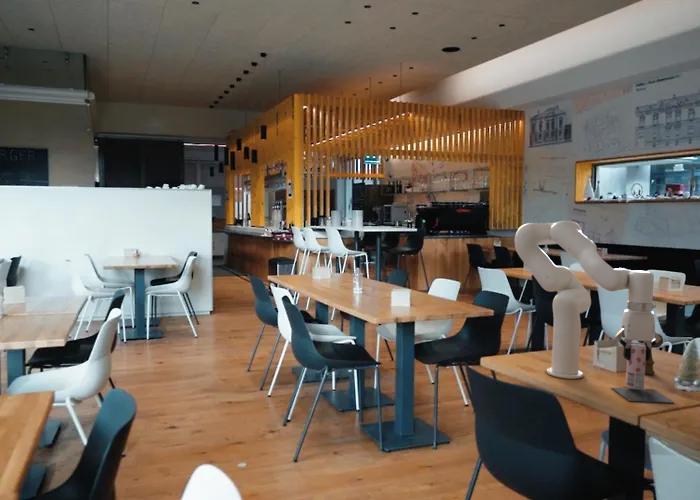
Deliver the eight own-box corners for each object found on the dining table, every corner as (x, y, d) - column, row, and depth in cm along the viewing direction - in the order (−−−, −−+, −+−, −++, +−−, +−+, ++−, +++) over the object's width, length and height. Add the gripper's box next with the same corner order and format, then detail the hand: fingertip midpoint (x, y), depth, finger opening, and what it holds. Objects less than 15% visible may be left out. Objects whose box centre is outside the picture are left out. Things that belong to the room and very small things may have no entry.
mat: (611, 388, 204) (611, 387, 204) (653, 390, 204) (653, 389, 203) (629, 401, 190) (629, 400, 190) (673, 403, 190) (673, 402, 190)
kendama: (648, 370, 230) (651, 319, 229) (662, 377, 220) (665, 324, 219) (632, 370, 230) (636, 319, 229) (646, 377, 220) (649, 323, 219)
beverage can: (642, 386, 206) (644, 343, 205) (645, 390, 200) (647, 346, 199) (624, 384, 207) (626, 341, 206) (626, 388, 202) (629, 345, 201)
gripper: (659, 306, 205) (656, 357, 207) (609, 304, 206) (606, 355, 207) (670, 309, 198) (667, 363, 199) (618, 308, 198) (615, 361, 200)
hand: (636, 358), depth 203 cm, fingers closed on beverage can, 5 cm apart
